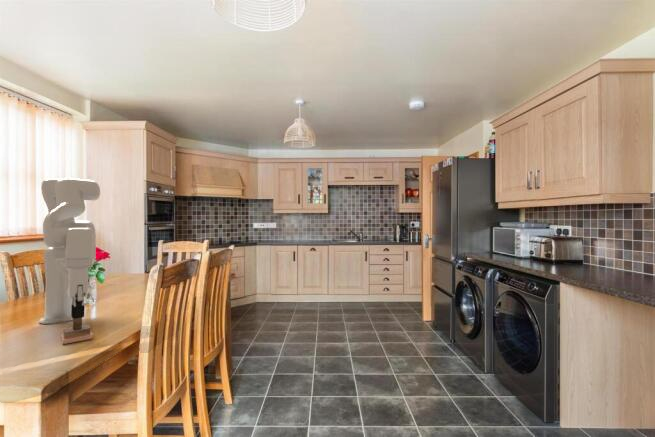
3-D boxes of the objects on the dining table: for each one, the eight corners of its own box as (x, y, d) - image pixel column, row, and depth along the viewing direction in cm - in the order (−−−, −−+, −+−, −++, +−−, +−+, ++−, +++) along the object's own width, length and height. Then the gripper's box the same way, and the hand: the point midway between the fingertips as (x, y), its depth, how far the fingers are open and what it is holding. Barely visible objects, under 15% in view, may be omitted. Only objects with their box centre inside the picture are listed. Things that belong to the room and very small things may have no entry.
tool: (63, 334, 107) (64, 294, 107) (89, 329, 112) (90, 291, 112) (64, 338, 104) (65, 297, 104) (90, 333, 109) (91, 294, 109)
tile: (60, 333, 110) (62, 340, 103) (89, 328, 115) (93, 334, 108) (60, 337, 110) (62, 344, 103) (89, 332, 115) (92, 338, 108)
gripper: (63, 261, 112) (61, 313, 111) (66, 266, 100) (65, 324, 99) (89, 260, 117) (88, 309, 116) (95, 265, 105) (94, 320, 105)
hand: (77, 316), depth 108 cm, fingers closed on tool, 2 cm apart
